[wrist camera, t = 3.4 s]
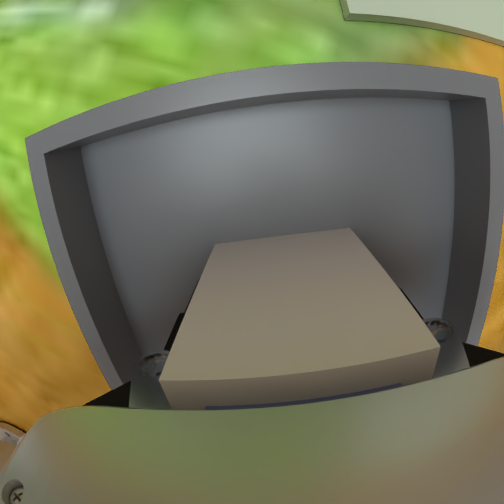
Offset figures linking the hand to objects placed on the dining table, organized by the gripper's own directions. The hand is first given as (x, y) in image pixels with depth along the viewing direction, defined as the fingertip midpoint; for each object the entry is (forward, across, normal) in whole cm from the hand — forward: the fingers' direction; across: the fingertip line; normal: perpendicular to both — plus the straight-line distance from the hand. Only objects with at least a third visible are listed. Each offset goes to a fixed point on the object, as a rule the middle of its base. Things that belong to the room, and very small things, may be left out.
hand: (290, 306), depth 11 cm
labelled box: (+1, 0, 0) cm, 1 cm away
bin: (+1, 0, 0) cm, 1 cm away
